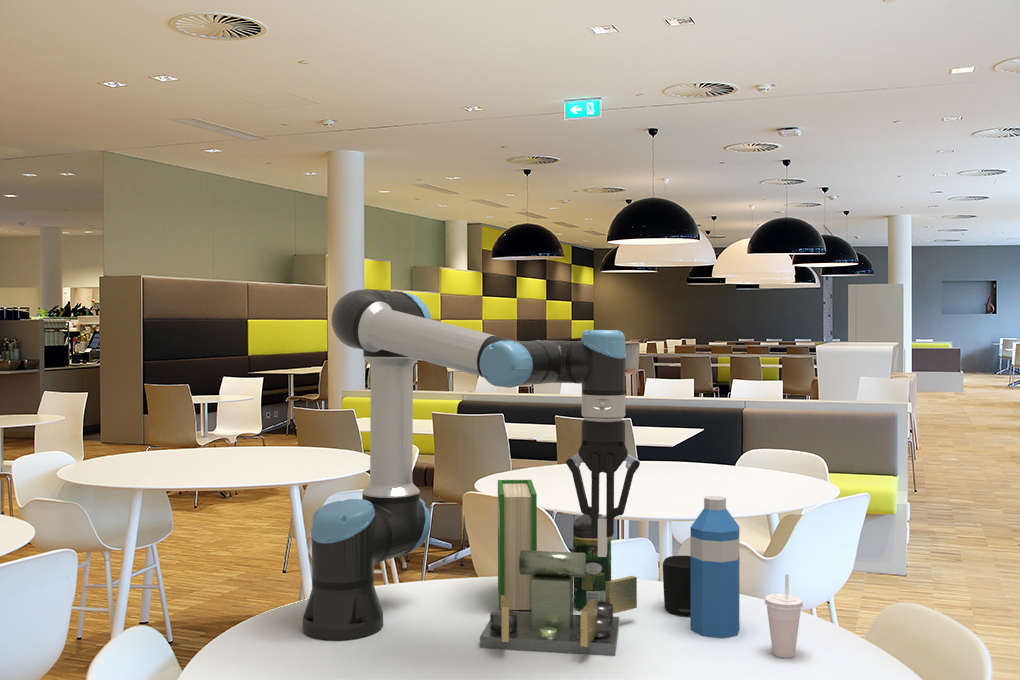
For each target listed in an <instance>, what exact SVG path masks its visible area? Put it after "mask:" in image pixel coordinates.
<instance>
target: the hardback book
mask: <svg viewBox="0 0 1020 680" xmlns="http://www.w3.org/2000/svg"><path fill="white" fill-rule="evenodd" d="M537 495H538V494H537V491H536V489H535V486H534V483H533V480H532V479H497V594H498V607H499V609H498V610H501V595H507V597H508V605H509V610H512V611H517V610H518V611H519V610H522V611H526V610H528V611H532V578H533V576H534V575H521V574H520V572H519V557H520V552H521V550H527V551H538V548H537V543H538V542H537V541H538V539H537V538H538V536H537V535H538V533H537V532H538V531H537V530H538V529H537V526H538V524H537V521H538V520H537V519H538V518H537V517H538V516H537V515H538V514H537V513H538V509H537V503H538V501H537V497H538V496H537Z"/></svg>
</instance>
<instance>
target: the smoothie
mask: <svg viewBox="0 0 1020 680" xmlns="http://www.w3.org/2000/svg"><path fill="white" fill-rule="evenodd" d="M789 577H790V576H789V573H785V574H784V578H785V579H784V582H785V583H784V586H785V588H784V589H785V590H784V593H771V594H768V595H766V596H765V597H764V604H765V605H766V609H767V617H768V624H769V633H770V635H769V636H770V641H771V651H772V655H774V656H775V657H777V658H783V659H791V658H794V657H795V656H796V649H797V643H798V642H797V641H798V633H799V625H800V618H801V611H802V608H803V607H804V603H803V599H802V598H800V597H799V596H796V595H792V594H789V588H790V587H789V586H790V585H789V583H790V582H789V581H790V578H789Z"/></svg>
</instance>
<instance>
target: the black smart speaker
mask: <svg viewBox="0 0 1020 680" xmlns="http://www.w3.org/2000/svg"><path fill="white" fill-rule="evenodd" d="M662 580H663V581H662V583H663V585H662V586H663V587H662V588H663V600H664V601H663V602H664V605H663V606H664V610H665V611H666V612H667V613H669V614H671V615H674V616H678V617H679V616H680V617H686V618H687V617H688V618H691V555H672V556H667V557H665V558H664V560H663V561H662Z"/></svg>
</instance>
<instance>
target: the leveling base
mask: <svg viewBox="0 0 1020 680" xmlns="http://www.w3.org/2000/svg"><path fill="white" fill-rule="evenodd" d="M519 572H520V574H521V575H534V576H533V578H532V610H531V611H517V610H514V611H515V612H517V629H516V630H514V631H511V632H509V642H502V638H501V632H497V631H493V630H491V629H490V619H489V621H488V622H487V624H486V625H485V627H484V629H483V630H482V633H481V634H480V636H479V648H482V649H497V650H516V651H531V652H532V651H533V652H545V653H546V652H550V653H564V654H565V653H566V654H581V655H582V654H583V655H599V656H601V655H602V656H616V653H617V645H618V638H619V630H620V628H619V627H620V616H614V615H613V620H612V621H611V634H610V635H609V636H606V637H595V638H594V639H593V640H592V642H591V643H590V644H589V646H588V647H583V646H581V614H574V579H573V577H585V573H586V554H585V553H577V552H573V551H571V552H570V551H549V550H537V551H527V550H521V552H520V557H519ZM496 610H497V609H495V610H494V611H496Z"/></svg>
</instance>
